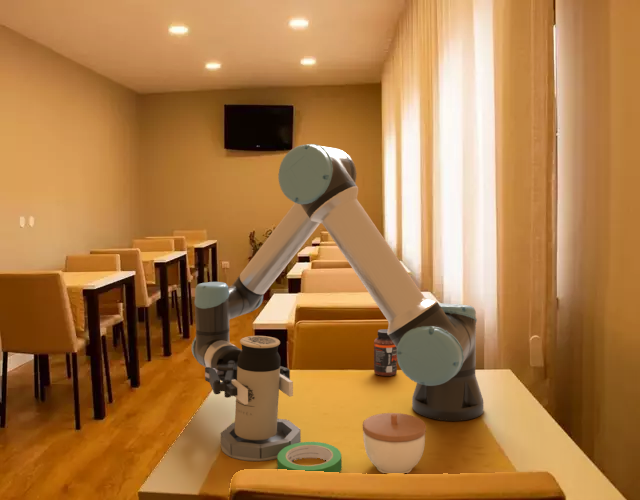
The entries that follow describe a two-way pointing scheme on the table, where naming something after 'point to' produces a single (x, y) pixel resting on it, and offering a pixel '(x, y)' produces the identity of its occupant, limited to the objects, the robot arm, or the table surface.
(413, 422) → the lidded jar
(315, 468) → the tape roll
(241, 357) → the travel mug
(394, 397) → the table surface
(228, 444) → the socket ring
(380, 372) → the supplement bottle
